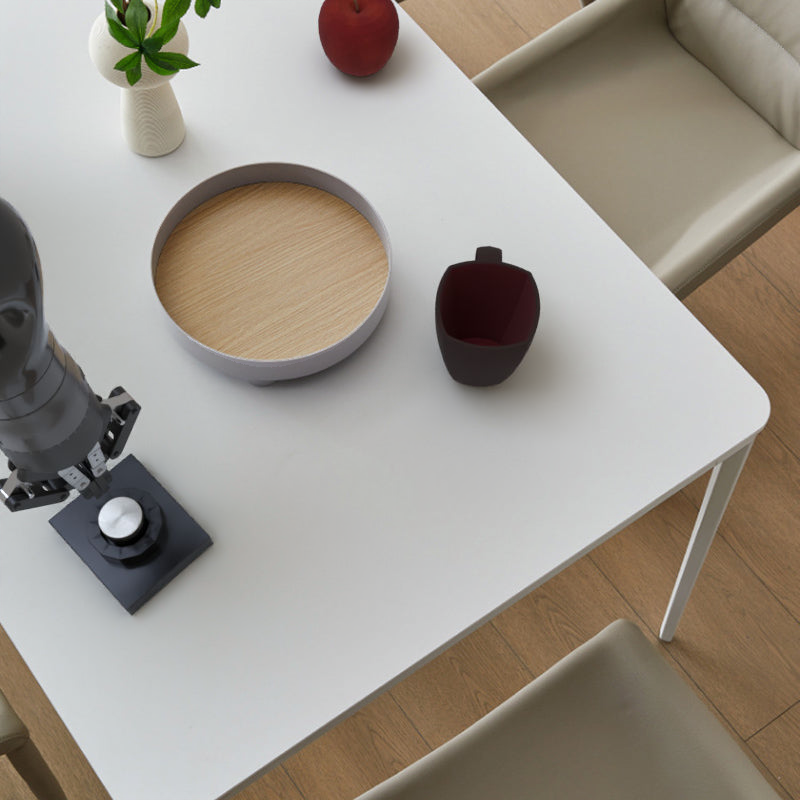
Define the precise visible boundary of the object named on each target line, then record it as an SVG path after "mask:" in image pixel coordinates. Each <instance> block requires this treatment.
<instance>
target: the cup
mask: <svg viewBox="0 0 800 800" xmlns="http://www.w3.org/2000/svg"><path fill="white" fill-rule="evenodd" d="M538 288H539V287H538V284H537V282H536V279H535V277H534V275H533V273H532V271H530V270H527V269H525V268H523V267H520V266H518V265H516V264H512V263H508V262H504V261H503V250H502V249H501V248H499V247H496V246H493V245H492V246H491V245H484V246H478V247H476V250H475V256H474V260H464V261H460V262H457V263H453V264H451V265H448V266H447V268H446V269H445V271H444V272H443V274H442V276H441V278H440V280H439V283H438V286H437V289H436V294H435V302H434V322H435V334H436V338H437V343H438V348H439V350H440V354H441V357H442V361H443V363H444V366H445V368H446V370H447V372H448V374H449V375H450V377H451V379H453V380H454V381H455V382H457V383H459V384H461V385H466V386H469V387H477V388H486V387H492V386H496V385H501V383H503V382H505V381H506V380H507V379H509V377H511V375H512V374H514V372H515V371H516V370H517V368H518V367H519V366H520V364H521V363H522V361H524V358H525V357H526V355H527V353H528V351H529V349H530V347H531V345H532V343H533V341H534V338H535V335H536V333H537V329H538V326H539V322H540V316H541V297H540V291H539V289H538Z"/></svg>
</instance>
